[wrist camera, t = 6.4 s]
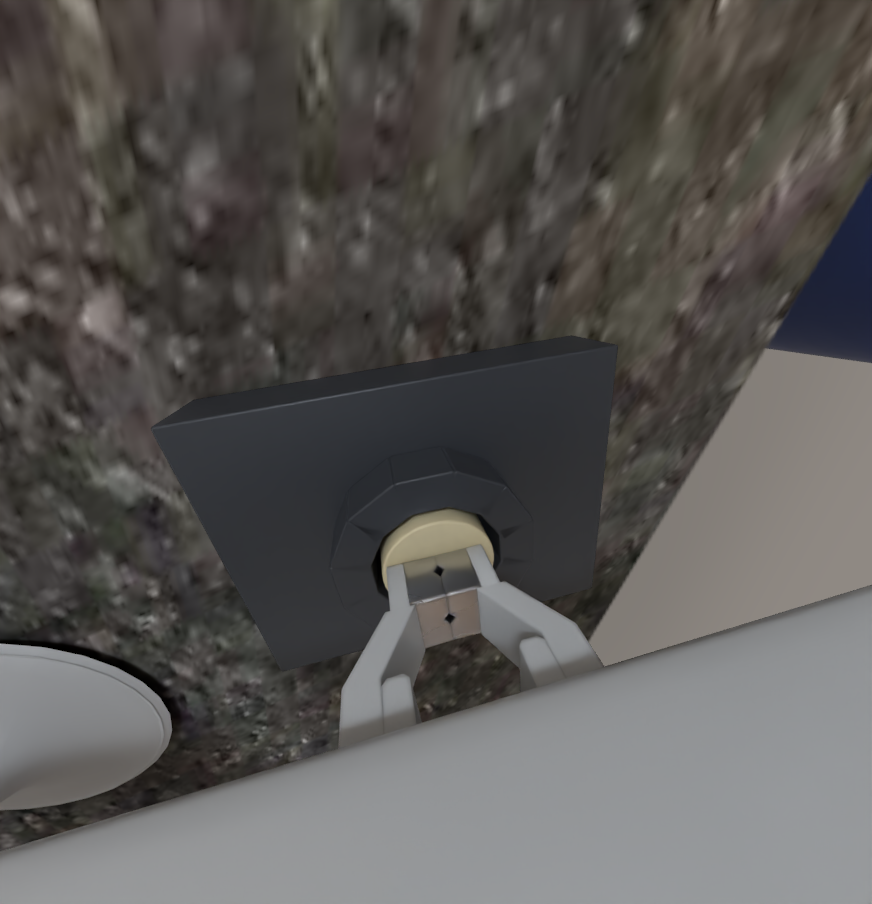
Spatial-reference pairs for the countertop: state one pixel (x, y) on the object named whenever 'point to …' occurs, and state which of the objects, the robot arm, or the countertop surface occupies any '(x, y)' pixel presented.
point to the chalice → (72, 727)
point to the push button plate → (396, 480)
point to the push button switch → (432, 537)
